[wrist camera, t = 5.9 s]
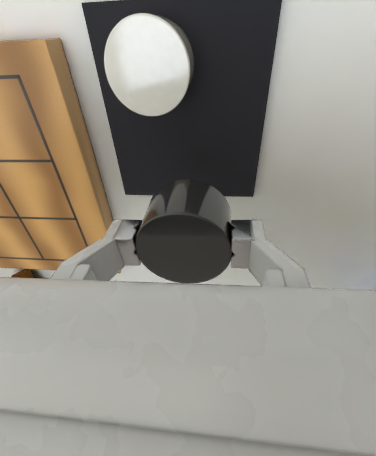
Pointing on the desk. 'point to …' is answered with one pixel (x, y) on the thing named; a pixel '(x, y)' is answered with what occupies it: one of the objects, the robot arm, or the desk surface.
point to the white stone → (148, 63)
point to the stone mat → (196, 95)
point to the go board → (45, 161)
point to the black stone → (186, 232)
